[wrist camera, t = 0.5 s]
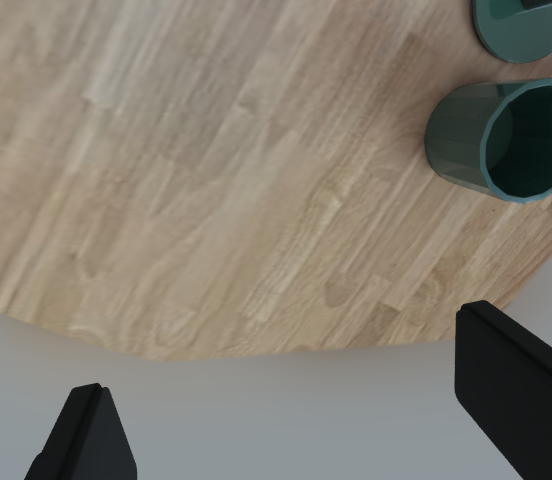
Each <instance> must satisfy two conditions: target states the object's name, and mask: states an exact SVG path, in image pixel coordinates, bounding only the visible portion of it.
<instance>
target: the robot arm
mask: <svg viewBox="0 0 552 480" xmlns="http://www.w3.org/2000/svg"><path fill="white" fill-rule="evenodd" d="M454 388H455V394H456V397H457V399H458V401H459V402H460V404H461V405H462V406H463V407H464V409H465V410H466V411H467V412H468V413H469V415H470V416H471V417H472V418H473V420H474V421H475V422H476V423H477V424H478V426H479V427H480V428H481V429H482V430H483V432H484V433H485V434H486V435H487V436H488V437H489V439H490V440H491V441H492V442H493V444H494V445H495V446H496V447H497V448H498V450H499V451H500V452H501V453H502V454H503V455H504V456H505V458H506V459H507V460H508V462H509V463H510V464H511V465H512V466H513V468H514V469H515V470H516V471H517V472H518V474H519V475H520V476H521V477H522V478H523V480H552V347H551V346H549V345H548V344H546V343H545V342H544V341H542V340H541V339H539V338H538V337H537V336H535V335H534V334H532V333H531V332H530V331H528V330H527V329H526V328H524V327H523V326H521V325H520V324H519V323H517V322H516V321H514V320H513V319H511V318H510V317H509V316H507V315H506V314H504V313H503V312H502V311H500V310H499V309H498V308H496V307H495V306H493V305H492V304H491V303H489V302H488V301H486V300H480V301H476V302H471V303H466V304H463V305H462V306H461V309H460V311H457V313H456V335H455V387H454ZM24 480H137V467H136V463H135V460H134V458H133V455H132V452H131V449H130V446H129V444H128V441H127V438H126V435H125V432H124V429H123V427H122V424H121V421H120V418H119V416H118V413H117V410H116V407H115V404H114V401H113V399H112V396H111V393H110V390H109V389H108V388H107V387H104V388H102V387H101V385H100V384H99V383H94V384H89V385H85V386H80V387H75V388H73V389H72V391H71V392H70V394H69V396H68V398H67V400H66V403H65V405H64V407H63V409H62V411H61V413H60V415H59V417H58V419H57V421H56V423H55V425H54V427H53V429H52V432H51V434H50V436H49V438H48V440H47V442H46V444H45V446H44V448H43V450H42V452H41V453H40V454H38V455H37V456H36V458H35V459H34V461H33V463H32V465H31V467H30V469H29V471H28V473H27V475H26V477H25V479H24Z"/></svg>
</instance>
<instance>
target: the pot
mask: <svg viewBox="0 0 552 480" xmlns="http://www.w3.org/2000/svg"><path fill="white" fill-rule="evenodd" d="M425 152H426V156H427V159H428V161H429V163H430V165H431V167H432V168H433V170H434V171H435V172H436V173H437V174H438V175H439V176H441V177H442V178H444V179H446V180H447V181H449V182H452V183H454V184H457V185H460V186H463V187H466V188H469V189H472V190H475V191H478V192H481V193H483V194H486V195H489V196H492V197H495V198H498V199H501V200H504V201H509V202H515V203H520V204H525V203H529V202H533V201H537V200H541V199H544V198H546V197H547V196H549V195H550V194H552V78H536V79H520V80H504V81H487V82H478V83H473V84H468V85H464V86H462V87H459V88H457V89H455V90H454V91H452V92H451V93H449V94H448V95H447V96H446V97H445V98H444V99H443V100H442V101H441V102H440V103H439V104H438V105H437V107H436V108H435V110H434V111H433V113H432V115H431V117H430V119H429V122H428V125H427V128H426V133H425Z"/></svg>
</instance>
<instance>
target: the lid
mask: <svg viewBox="0 0 552 480" xmlns="http://www.w3.org/2000/svg"><path fill="white" fill-rule="evenodd" d="M473 18H474V23H475V27H476V30H477V33H478V35H479V38H480V40H481V41H482V43H483V45H484V46H485V47H486V48H487V50H488V51H489V52H490V53H492V54H493V55H494V56H495V57H497V58H499V59H501V60H503V61H506V62H510V63H527V62H532V61H536V60H539V59H541V58H543V57H545V56H547V55H549V54H550V53H552V0H473Z"/></svg>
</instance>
